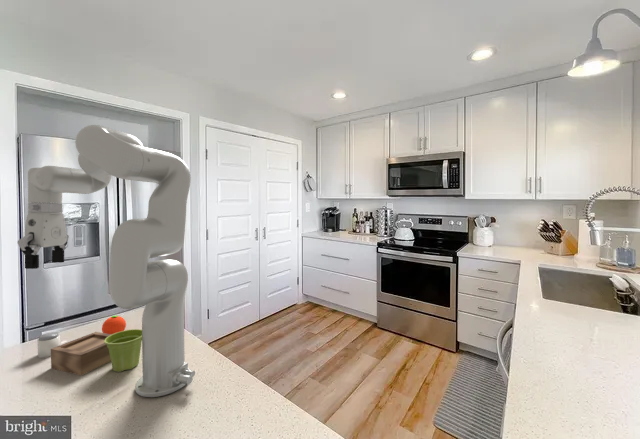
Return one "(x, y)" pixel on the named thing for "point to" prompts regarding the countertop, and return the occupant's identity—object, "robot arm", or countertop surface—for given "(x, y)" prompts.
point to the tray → (81, 354)
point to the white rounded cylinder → (47, 344)
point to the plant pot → (124, 349)
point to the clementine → (114, 325)
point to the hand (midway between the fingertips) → (45, 265)
